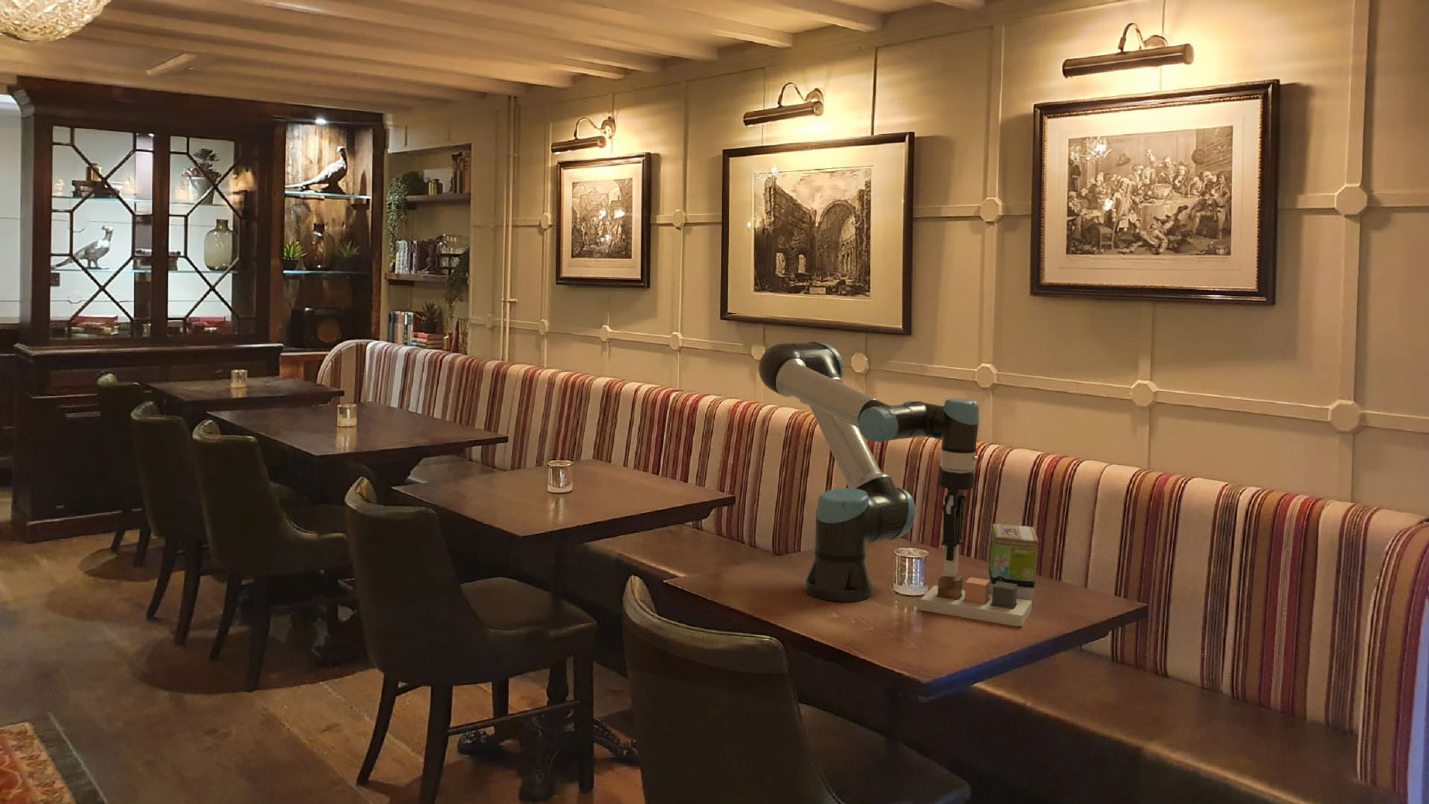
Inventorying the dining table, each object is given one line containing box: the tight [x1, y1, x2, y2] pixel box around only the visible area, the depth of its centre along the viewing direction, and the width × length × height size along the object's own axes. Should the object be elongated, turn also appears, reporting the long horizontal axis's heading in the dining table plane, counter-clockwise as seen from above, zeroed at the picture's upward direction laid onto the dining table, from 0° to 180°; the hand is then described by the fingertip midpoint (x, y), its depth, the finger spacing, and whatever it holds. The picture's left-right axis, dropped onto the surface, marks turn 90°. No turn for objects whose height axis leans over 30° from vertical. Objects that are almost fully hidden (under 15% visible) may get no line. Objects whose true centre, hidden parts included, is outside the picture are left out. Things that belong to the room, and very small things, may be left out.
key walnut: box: [937, 573, 964, 600], centre depth 247 cm, size 4×4×5 cm
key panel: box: [919, 584, 1033, 628], centre depth 245 cm, size 22×12×2 cm, turn 65°
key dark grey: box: [992, 581, 1018, 609], centre depth 242 cm, size 4×4×5 cm
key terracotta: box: [964, 577, 990, 605], centre depth 244 cm, size 4×4×5 cm
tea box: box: [987, 523, 1039, 603], centre depth 259 cm, size 15×10×15 cm
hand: (950, 573), depth 247 cm, fingers closed
